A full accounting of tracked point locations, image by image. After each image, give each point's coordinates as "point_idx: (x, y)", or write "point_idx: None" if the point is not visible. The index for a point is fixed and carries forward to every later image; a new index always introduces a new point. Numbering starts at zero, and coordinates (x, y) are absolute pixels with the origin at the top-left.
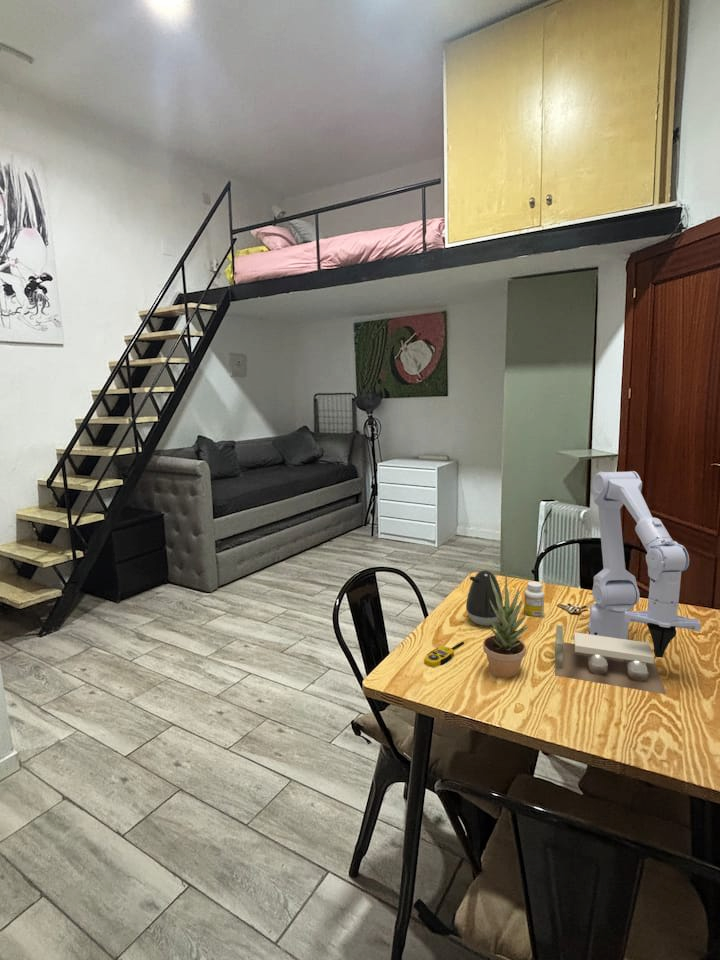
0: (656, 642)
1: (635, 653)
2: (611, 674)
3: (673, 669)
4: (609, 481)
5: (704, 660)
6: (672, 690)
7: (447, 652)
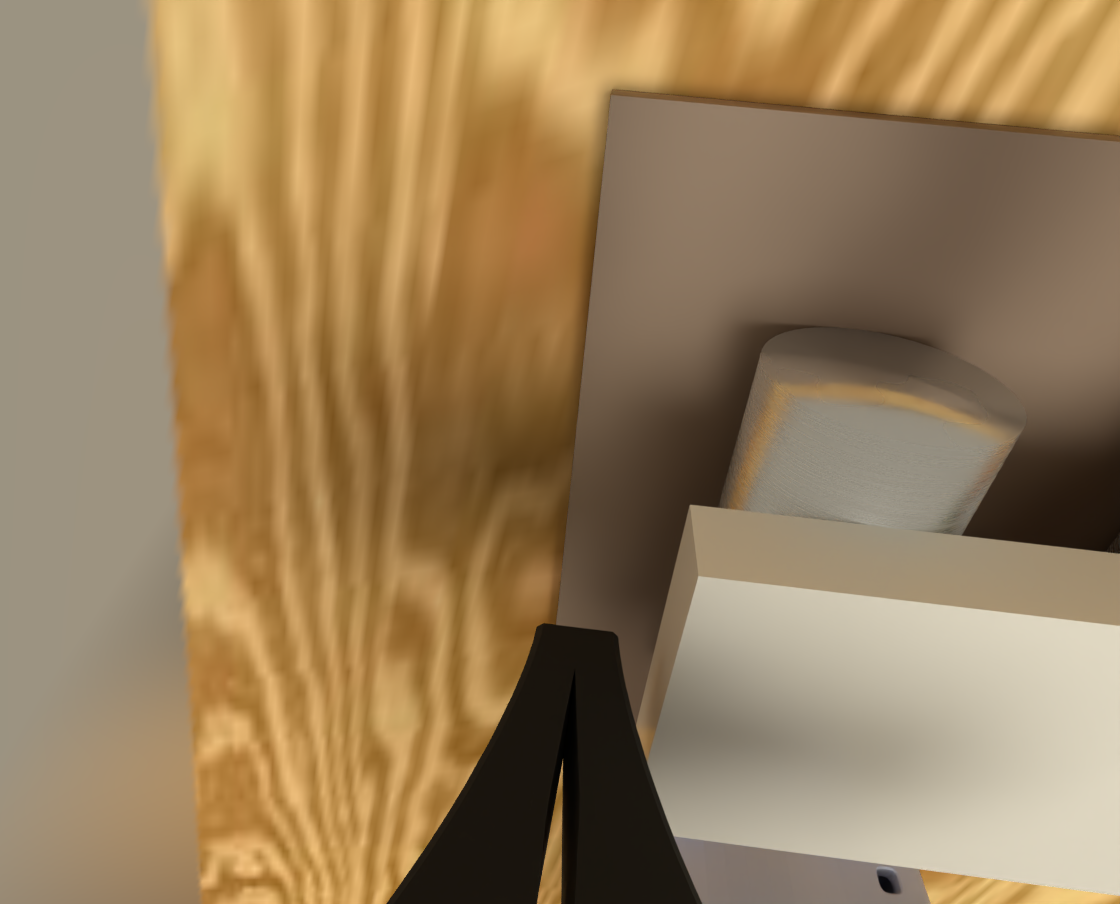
0: (637, 854)
1: (953, 634)
2: (1099, 405)
3: (428, 600)
4: None
5: (228, 707)
6: (498, 292)
7: None
